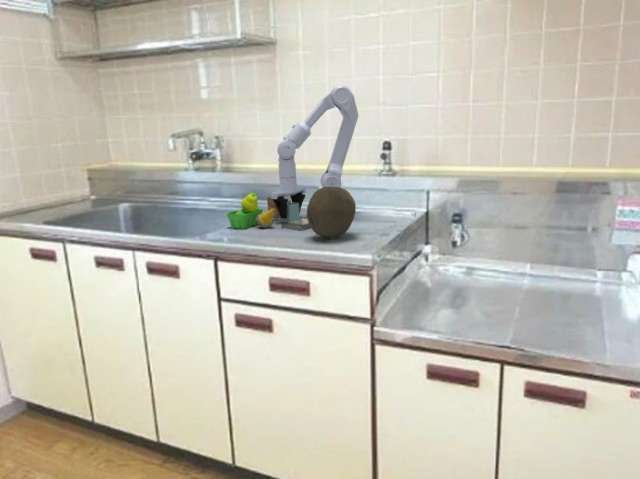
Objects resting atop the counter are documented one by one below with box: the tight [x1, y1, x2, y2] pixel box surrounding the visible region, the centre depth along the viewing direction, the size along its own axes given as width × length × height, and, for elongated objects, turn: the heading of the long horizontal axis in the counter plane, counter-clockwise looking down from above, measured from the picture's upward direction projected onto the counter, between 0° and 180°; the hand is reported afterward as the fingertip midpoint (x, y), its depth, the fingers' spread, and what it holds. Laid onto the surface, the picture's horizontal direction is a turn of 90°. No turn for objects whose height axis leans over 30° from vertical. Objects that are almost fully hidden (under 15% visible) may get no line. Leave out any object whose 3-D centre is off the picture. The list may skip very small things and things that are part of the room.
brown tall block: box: [266, 196, 280, 217], centre depth 188 cm, size 3×4×7 cm
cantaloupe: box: [306, 186, 357, 240], centre depth 155 cm, size 14×14×15 cm
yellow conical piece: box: [256, 208, 275, 229], centre depth 174 cm, size 5×5×10 cm
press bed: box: [280, 217, 312, 231], centre depth 175 cm, size 10×9×2 cm
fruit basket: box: [225, 192, 264, 230], centre depth 179 cm, size 11×9×11 cm
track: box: [272, 216, 281, 222], centre depth 188 cm, size 11×4×1 cm, turn 138°
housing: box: [280, 200, 301, 223], centre depth 184 cm, size 4×4×7 cm
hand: (290, 216), depth 184 cm, fingers open, 6 cm apart
